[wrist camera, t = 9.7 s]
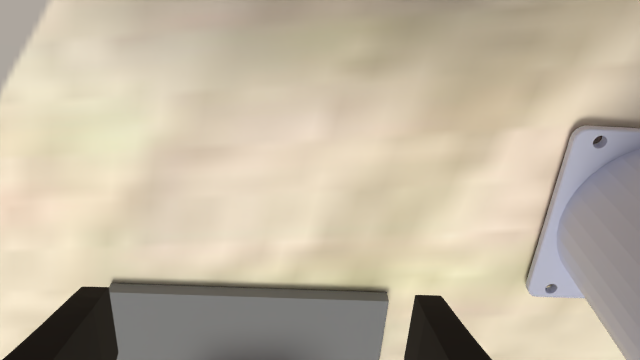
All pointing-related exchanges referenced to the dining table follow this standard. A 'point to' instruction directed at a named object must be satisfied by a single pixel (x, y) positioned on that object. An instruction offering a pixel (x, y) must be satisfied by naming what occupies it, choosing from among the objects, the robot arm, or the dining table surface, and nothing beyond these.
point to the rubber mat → (246, 323)
